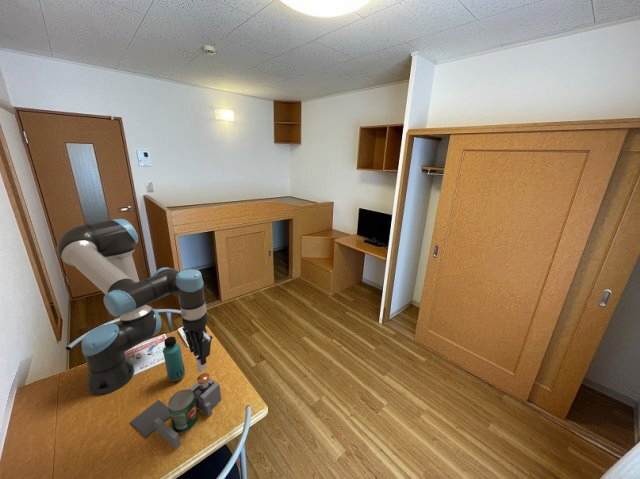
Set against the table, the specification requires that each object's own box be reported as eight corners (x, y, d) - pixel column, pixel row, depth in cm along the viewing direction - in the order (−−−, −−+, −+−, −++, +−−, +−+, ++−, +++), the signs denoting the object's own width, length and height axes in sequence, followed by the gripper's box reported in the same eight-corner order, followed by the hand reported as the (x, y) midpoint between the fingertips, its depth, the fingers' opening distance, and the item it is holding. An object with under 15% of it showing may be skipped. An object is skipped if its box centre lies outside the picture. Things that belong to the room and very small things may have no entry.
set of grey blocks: (156, 431, 88) (152, 414, 86) (205, 388, 105) (202, 373, 102) (176, 449, 83) (172, 431, 81) (224, 401, 100) (222, 386, 97)
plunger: (197, 393, 97) (194, 379, 94) (206, 385, 100) (204, 371, 98) (204, 398, 95) (202, 383, 93) (213, 389, 98) (211, 376, 96)
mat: (130, 423, 91) (129, 421, 90) (158, 400, 99) (158, 399, 99) (146, 438, 86) (145, 437, 86) (174, 413, 94) (174, 412, 94)
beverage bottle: (178, 385, 105) (171, 346, 99) (164, 382, 107) (156, 343, 100) (189, 373, 112) (183, 335, 105) (175, 370, 113) (168, 332, 106)
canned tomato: (170, 419, 92) (165, 397, 89) (194, 407, 97) (190, 385, 93) (175, 438, 86) (170, 414, 83) (200, 424, 91) (196, 401, 88)
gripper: (171, 314, 86) (181, 369, 94) (197, 327, 80) (205, 385, 88) (192, 303, 92) (199, 355, 100) (217, 315, 86) (223, 369, 94)
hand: (202, 369), depth 94 cm, fingers closed
